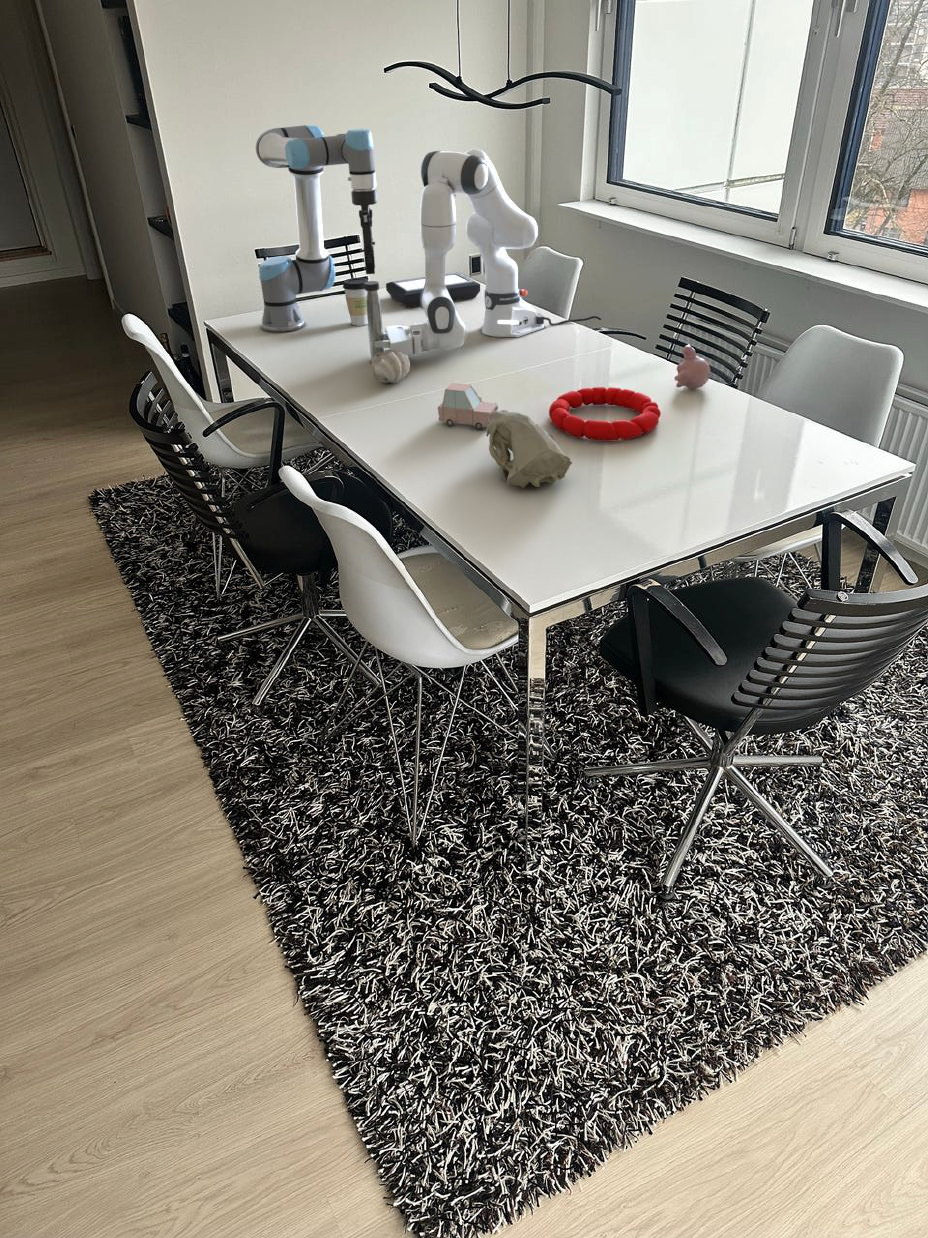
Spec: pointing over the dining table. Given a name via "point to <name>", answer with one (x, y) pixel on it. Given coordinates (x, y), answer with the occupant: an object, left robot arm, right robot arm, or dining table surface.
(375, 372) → the seashell
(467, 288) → the electronic device
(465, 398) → the toy car
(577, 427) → the decorative ring
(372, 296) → the bottle
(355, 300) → the coffee cup
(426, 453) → the dining table surface
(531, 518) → the dining table surface
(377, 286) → the cap
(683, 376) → the figurine
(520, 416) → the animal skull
